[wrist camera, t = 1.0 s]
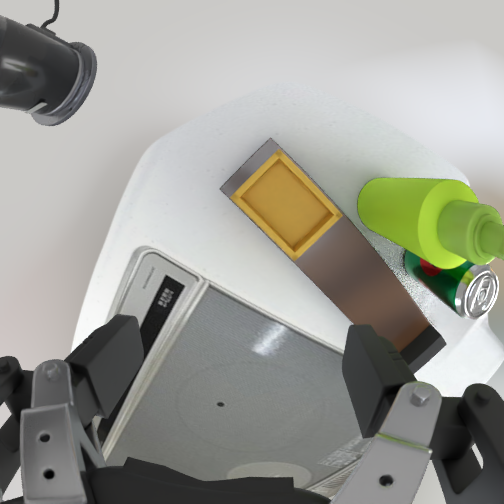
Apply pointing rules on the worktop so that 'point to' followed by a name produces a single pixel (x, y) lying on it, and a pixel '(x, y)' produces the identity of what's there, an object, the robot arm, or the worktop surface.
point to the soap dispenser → (433, 220)
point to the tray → (286, 205)
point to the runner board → (348, 269)
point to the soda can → (456, 285)
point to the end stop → (422, 348)
